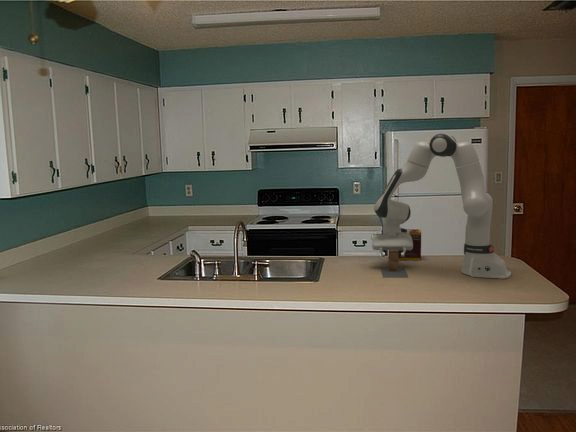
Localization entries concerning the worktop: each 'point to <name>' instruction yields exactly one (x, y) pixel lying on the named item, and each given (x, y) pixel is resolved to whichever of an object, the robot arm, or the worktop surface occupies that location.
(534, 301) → the worktop surface
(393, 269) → the walnut block
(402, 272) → the rubber mat
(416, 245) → the supplement box
